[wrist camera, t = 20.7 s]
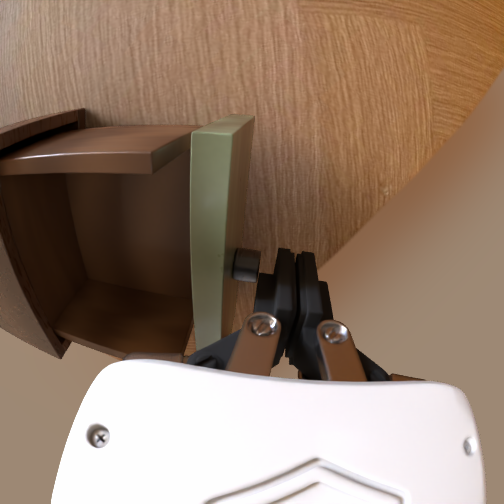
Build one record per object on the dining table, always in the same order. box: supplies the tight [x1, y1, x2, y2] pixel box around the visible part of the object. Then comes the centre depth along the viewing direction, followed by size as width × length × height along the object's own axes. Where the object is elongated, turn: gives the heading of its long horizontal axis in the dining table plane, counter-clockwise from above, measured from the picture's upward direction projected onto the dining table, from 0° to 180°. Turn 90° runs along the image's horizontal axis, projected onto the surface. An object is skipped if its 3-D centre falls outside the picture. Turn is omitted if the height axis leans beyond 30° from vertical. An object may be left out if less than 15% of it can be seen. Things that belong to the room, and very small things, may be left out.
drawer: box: [0, 114, 261, 359], centre depth 14 cm, size 14×13×7 cm
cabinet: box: [0, 108, 85, 359], centre depth 14 cm, size 14×15×9 cm
